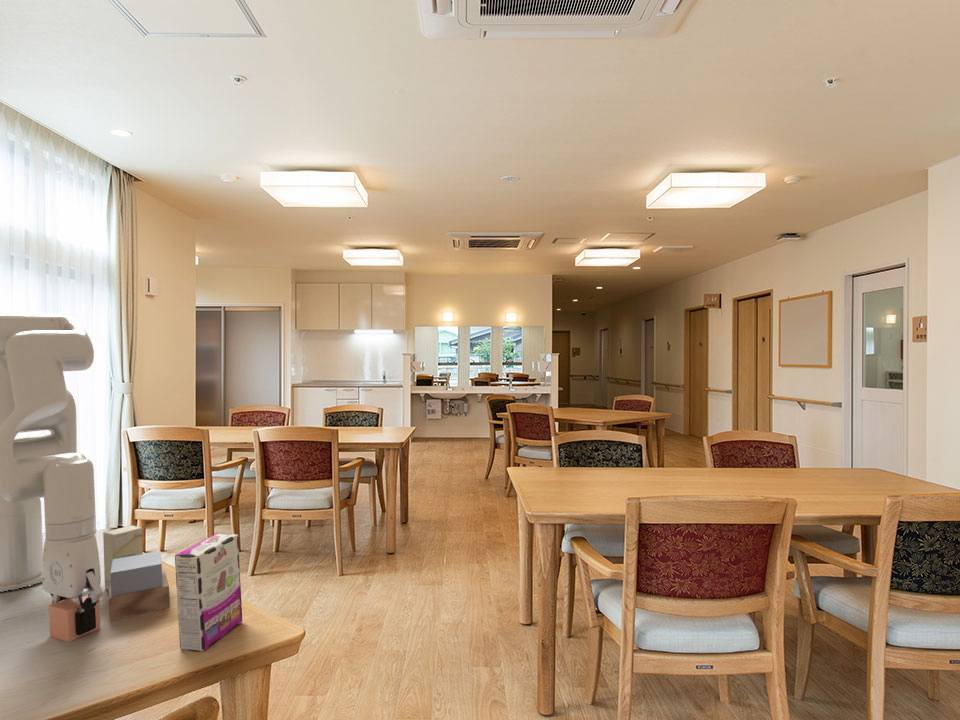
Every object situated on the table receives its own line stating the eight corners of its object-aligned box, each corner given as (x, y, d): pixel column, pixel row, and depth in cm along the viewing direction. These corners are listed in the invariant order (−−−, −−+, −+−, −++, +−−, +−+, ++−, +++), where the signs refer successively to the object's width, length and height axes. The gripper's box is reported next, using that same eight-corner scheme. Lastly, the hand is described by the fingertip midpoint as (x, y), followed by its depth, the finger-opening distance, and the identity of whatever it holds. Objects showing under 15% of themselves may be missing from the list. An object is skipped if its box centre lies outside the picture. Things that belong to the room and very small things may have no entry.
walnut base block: (109, 622, 112) (108, 598, 111) (109, 603, 120) (108, 581, 120) (169, 608, 117) (168, 585, 117) (165, 591, 125) (164, 570, 125)
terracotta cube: (49, 636, 106) (48, 605, 106) (81, 622, 111) (80, 593, 111) (68, 641, 104) (67, 610, 104) (100, 628, 109) (99, 598, 109)
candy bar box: (219, 620, 111) (215, 532, 110) (243, 622, 110) (240, 533, 109) (176, 651, 100) (173, 553, 99) (203, 653, 99) (199, 555, 98)
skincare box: (114, 593, 124) (112, 535, 124) (103, 589, 127) (101, 532, 126) (145, 582, 130) (143, 527, 129) (134, 578, 132) (132, 524, 132)
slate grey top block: (111, 596, 112) (110, 572, 112) (113, 581, 120) (112, 559, 120) (162, 586, 116) (161, 563, 116) (161, 572, 124) (160, 551, 124)
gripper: (20, 529, 107) (24, 629, 108) (78, 540, 100) (83, 647, 100) (64, 518, 114) (68, 611, 114) (122, 528, 107) (126, 628, 107)
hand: (75, 627), depth 107 cm, fingers closed on terracotta cube, 5 cm apart
